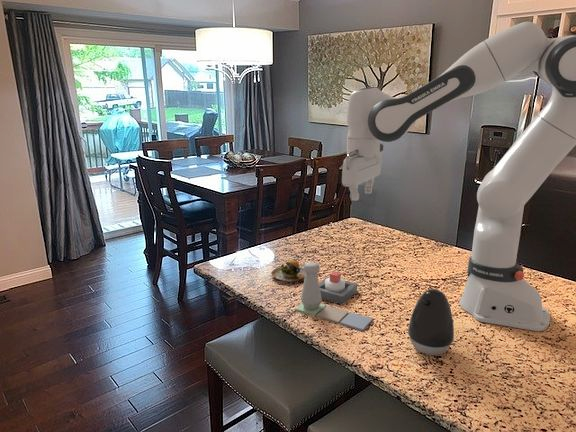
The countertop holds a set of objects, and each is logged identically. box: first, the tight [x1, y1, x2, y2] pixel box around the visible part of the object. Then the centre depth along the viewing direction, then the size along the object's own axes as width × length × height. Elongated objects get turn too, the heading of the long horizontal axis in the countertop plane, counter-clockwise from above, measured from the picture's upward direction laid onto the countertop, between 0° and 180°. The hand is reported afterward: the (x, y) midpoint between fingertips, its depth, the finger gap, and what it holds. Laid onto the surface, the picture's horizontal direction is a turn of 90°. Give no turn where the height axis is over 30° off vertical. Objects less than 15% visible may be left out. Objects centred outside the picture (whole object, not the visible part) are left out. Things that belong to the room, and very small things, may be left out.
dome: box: [324, 270, 346, 293], centre depth 130 cm, size 6×6×6 cm
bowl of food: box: [271, 255, 305, 285], centre depth 142 cm, size 12×12×8 cm
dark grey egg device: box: [407, 288, 455, 356], centre depth 101 cm, size 10×10×15 cm
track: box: [294, 302, 374, 332], centre depth 118 cm, size 20×6×1 cm, turn 57°
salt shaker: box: [300, 261, 323, 310], centre depth 120 cm, size 6×6×13 cm
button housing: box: [319, 276, 358, 305], centre depth 131 cm, size 10×10×2 cm
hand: (361, 196), depth 125 cm, fingers open, 8 cm apart
